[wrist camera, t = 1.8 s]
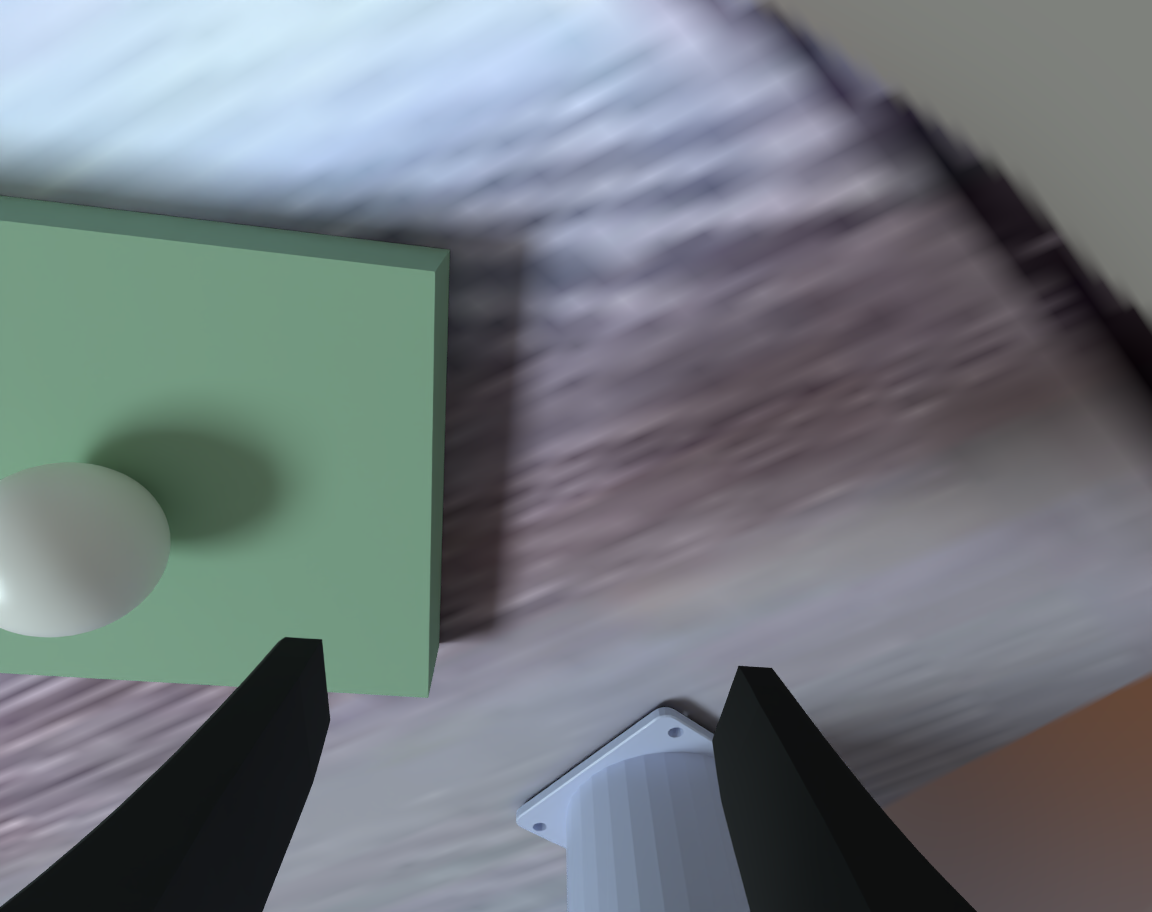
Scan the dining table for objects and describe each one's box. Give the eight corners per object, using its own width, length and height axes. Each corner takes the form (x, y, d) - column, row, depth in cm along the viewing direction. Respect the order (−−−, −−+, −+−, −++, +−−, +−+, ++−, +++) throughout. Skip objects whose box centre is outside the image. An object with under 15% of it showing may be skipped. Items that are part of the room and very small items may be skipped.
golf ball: (228, 494, 14) (141, 600, 11) (160, 583, 16) (65, 701, 13) (71, 401, 13) (-74, 492, 10) (10, 506, 14) (-135, 617, 11)
